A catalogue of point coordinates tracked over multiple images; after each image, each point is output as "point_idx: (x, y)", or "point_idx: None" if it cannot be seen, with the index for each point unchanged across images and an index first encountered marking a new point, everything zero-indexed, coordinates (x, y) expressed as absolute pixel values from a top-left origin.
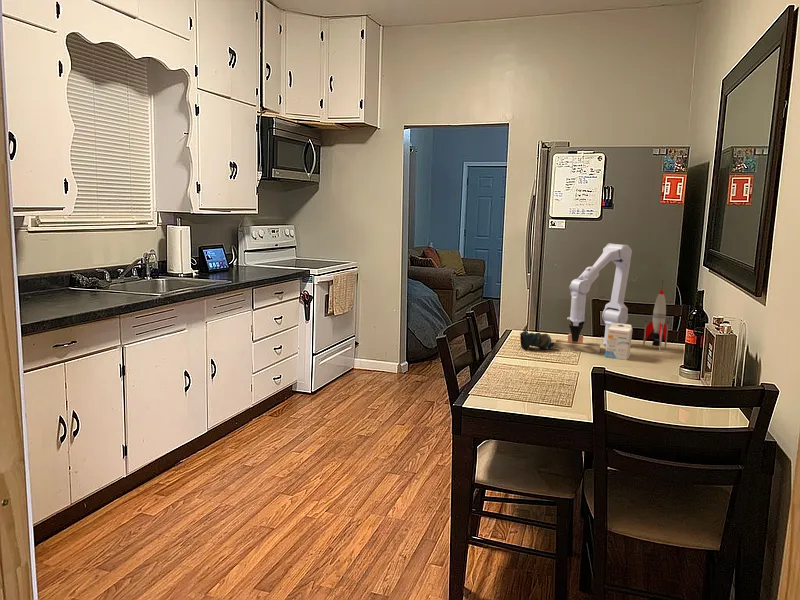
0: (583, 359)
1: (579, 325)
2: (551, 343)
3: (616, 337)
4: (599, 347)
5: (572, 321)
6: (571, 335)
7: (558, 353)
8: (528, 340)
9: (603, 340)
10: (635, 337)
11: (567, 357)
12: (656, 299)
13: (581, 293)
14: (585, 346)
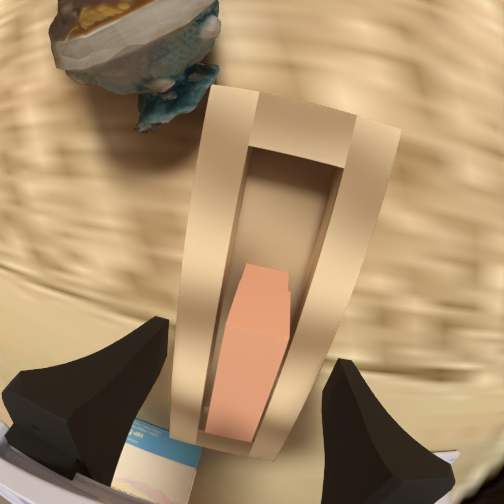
0: (11, 292)
1: (333, 499)
2: (145, 98)
3: None
4: (170, 435)
5: (24, 472)
6: (221, 350)
7: (62, 161)
8: None
9: (456, 454)
10: (484, 496)
11: (5, 213)
12: None
13: None
14: (174, 379)
